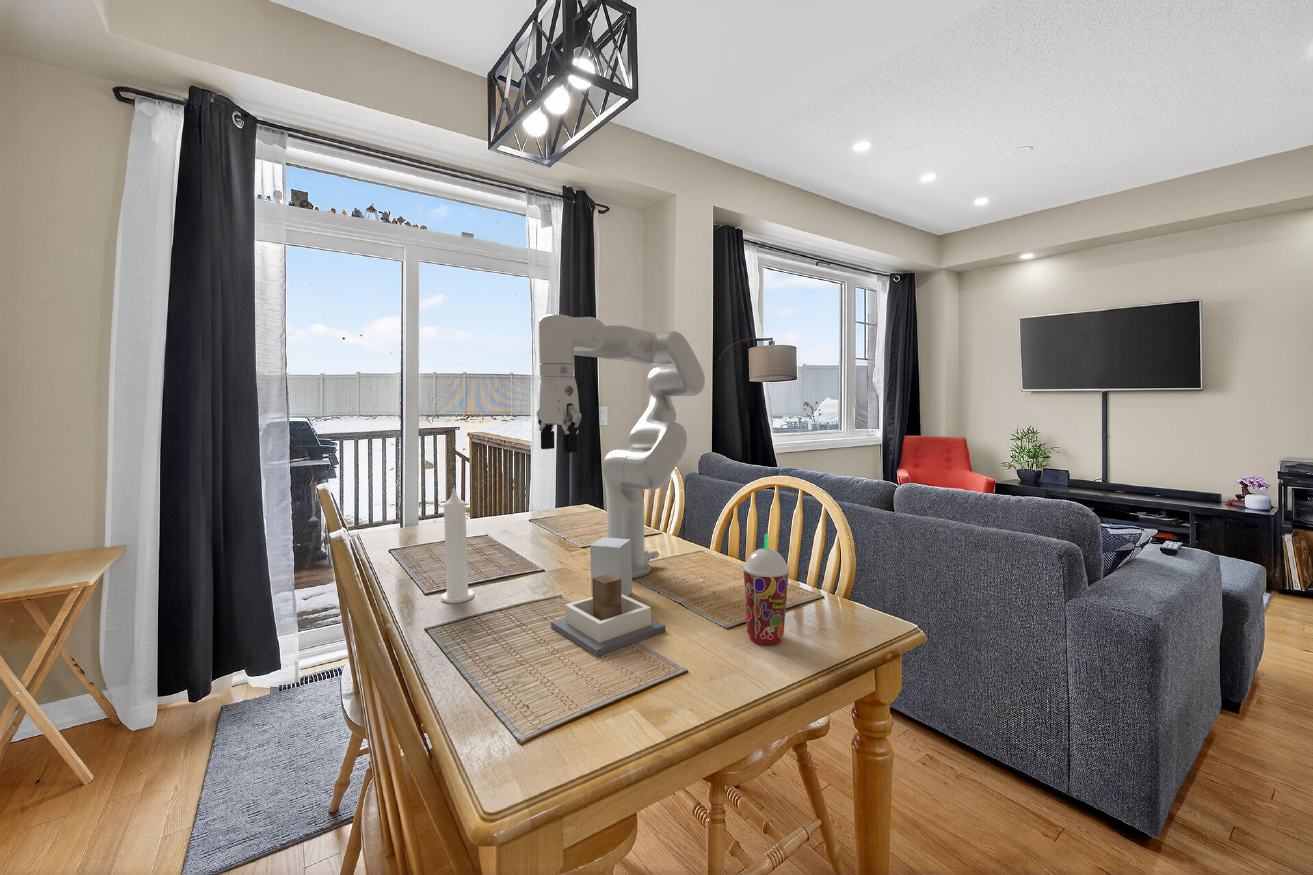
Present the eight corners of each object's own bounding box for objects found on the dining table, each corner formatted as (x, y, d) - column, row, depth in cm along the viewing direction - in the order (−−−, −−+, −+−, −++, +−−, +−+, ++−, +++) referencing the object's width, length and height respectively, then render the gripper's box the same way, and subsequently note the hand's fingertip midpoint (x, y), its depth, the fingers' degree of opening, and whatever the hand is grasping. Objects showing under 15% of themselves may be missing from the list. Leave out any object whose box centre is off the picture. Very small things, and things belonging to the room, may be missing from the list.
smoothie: (778, 653, 100) (780, 542, 98) (735, 642, 104) (736, 536, 103) (794, 635, 107) (795, 532, 105) (752, 626, 111) (753, 526, 110)
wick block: (609, 617, 113) (609, 573, 112) (621, 623, 110) (621, 578, 109) (593, 622, 110) (592, 578, 110) (604, 629, 107) (604, 583, 107)
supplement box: (633, 592, 130) (632, 538, 129) (620, 604, 123) (620, 547, 122) (603, 588, 133) (603, 536, 132) (590, 600, 126) (589, 544, 125)
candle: (463, 604, 123) (459, 491, 121) (434, 602, 125) (430, 490, 123) (480, 593, 130) (476, 486, 128) (452, 590, 132) (448, 485, 130)
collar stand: (616, 607, 121) (616, 585, 121) (665, 631, 109) (665, 607, 109) (551, 627, 111) (550, 604, 111) (596, 656, 99) (596, 630, 99)
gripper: (593, 372, 119) (594, 452, 121) (552, 373, 132) (553, 446, 134) (562, 371, 114) (564, 455, 116) (523, 373, 127) (525, 448, 129)
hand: (558, 450), depth 125 cm, fingers open, 9 cm apart
